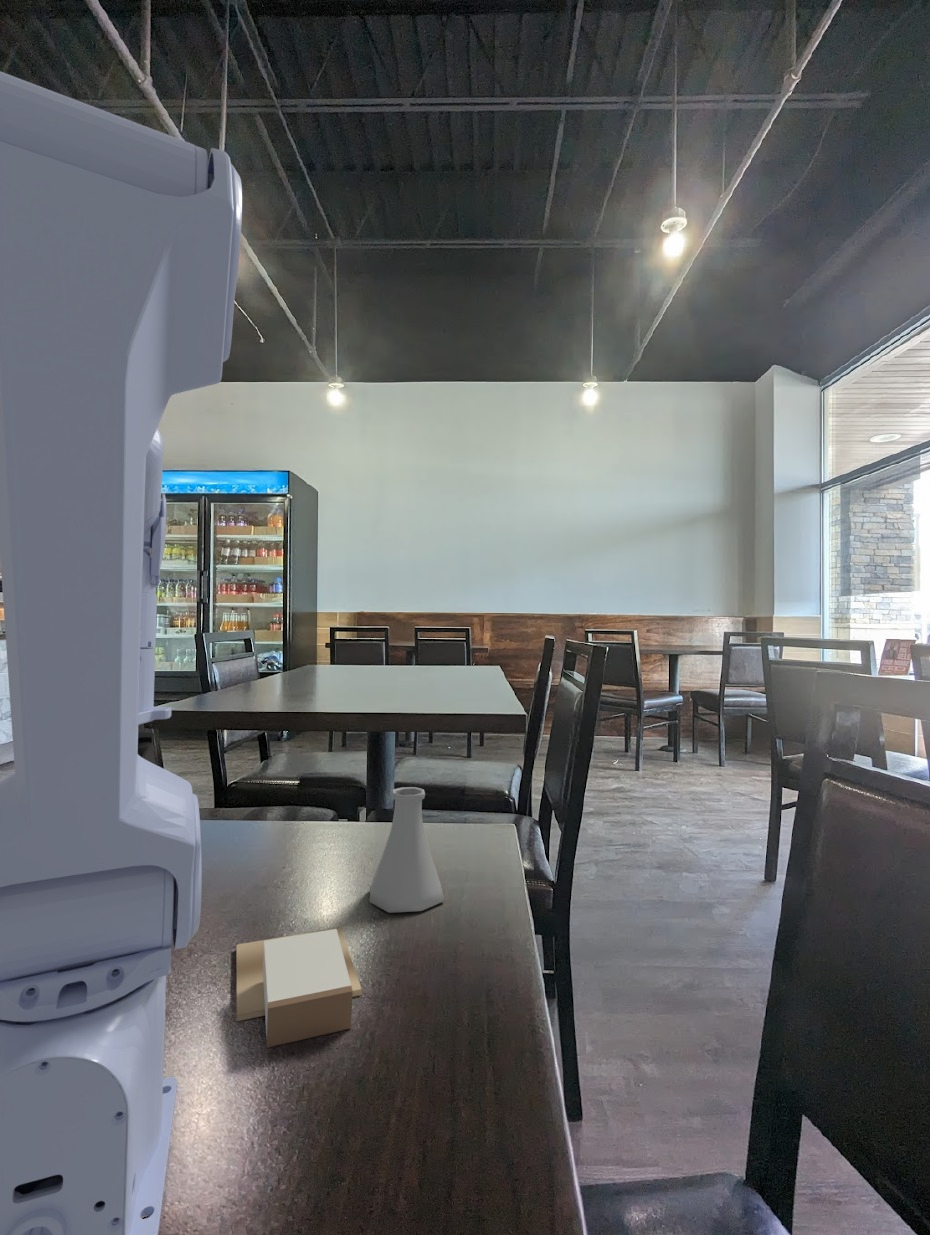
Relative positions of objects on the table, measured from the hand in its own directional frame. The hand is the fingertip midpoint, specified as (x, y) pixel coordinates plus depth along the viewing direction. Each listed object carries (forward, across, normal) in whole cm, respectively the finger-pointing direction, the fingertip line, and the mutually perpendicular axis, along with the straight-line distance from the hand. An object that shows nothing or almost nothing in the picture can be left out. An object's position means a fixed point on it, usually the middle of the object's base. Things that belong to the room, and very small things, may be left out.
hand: (103, 841), depth 41 cm
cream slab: (+8, -4, -13) cm, 16 cm away
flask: (+10, +6, -24) cm, 27 cm away
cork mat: (+10, -3, -13) cm, 17 cm away
